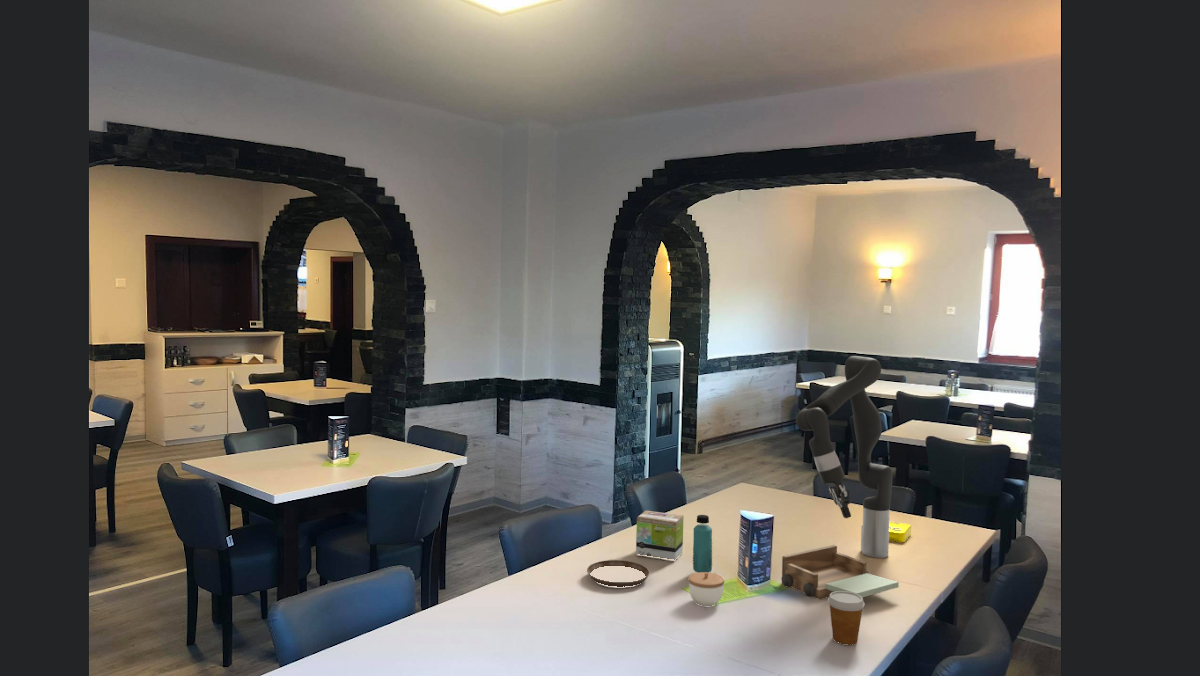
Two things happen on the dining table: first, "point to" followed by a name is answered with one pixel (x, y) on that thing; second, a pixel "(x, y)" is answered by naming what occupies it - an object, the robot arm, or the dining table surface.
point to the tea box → (659, 534)
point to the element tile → (899, 531)
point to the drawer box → (819, 570)
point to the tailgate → (863, 585)
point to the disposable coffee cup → (845, 616)
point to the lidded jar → (706, 588)
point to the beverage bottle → (702, 545)
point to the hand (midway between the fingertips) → (847, 517)
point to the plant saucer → (618, 563)
